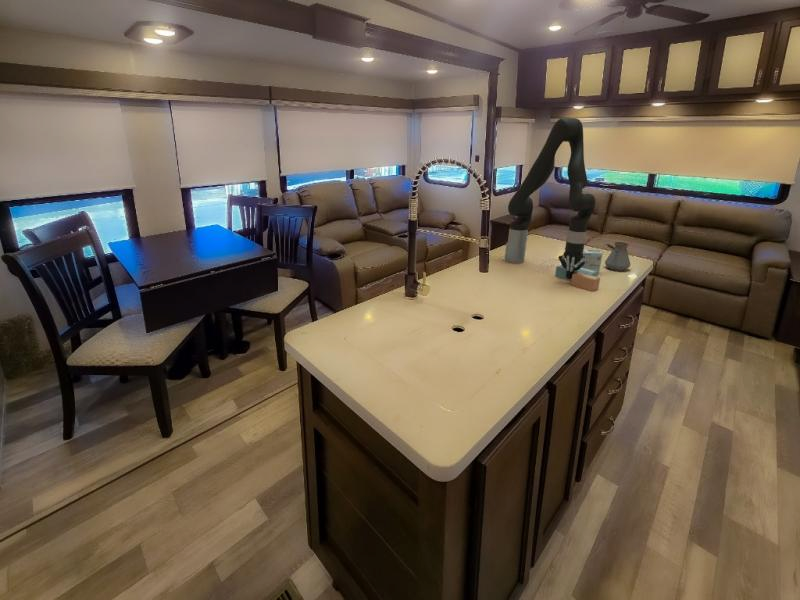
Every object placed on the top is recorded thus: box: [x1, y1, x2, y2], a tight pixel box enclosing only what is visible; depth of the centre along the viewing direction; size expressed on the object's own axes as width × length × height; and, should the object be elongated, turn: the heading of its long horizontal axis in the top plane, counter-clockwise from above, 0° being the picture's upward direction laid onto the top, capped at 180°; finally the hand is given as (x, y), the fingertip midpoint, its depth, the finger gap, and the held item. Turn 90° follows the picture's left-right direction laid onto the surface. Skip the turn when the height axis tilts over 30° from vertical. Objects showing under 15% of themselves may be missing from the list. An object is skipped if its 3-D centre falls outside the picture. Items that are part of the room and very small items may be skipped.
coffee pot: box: [603, 241, 631, 272], centre depth 201 cm, size 21×12×15 cm, turn 127°
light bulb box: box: [577, 249, 603, 275], centre depth 199 cm, size 11×7×11 cm, turn 84°
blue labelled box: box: [554, 264, 599, 282], centre depth 190 cm, size 16×8×5 cm, turn 41°
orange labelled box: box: [570, 272, 601, 292], centre depth 180 cm, size 10×5×5 cm, turn 41°
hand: (569, 278), depth 185 cm, fingers closed
